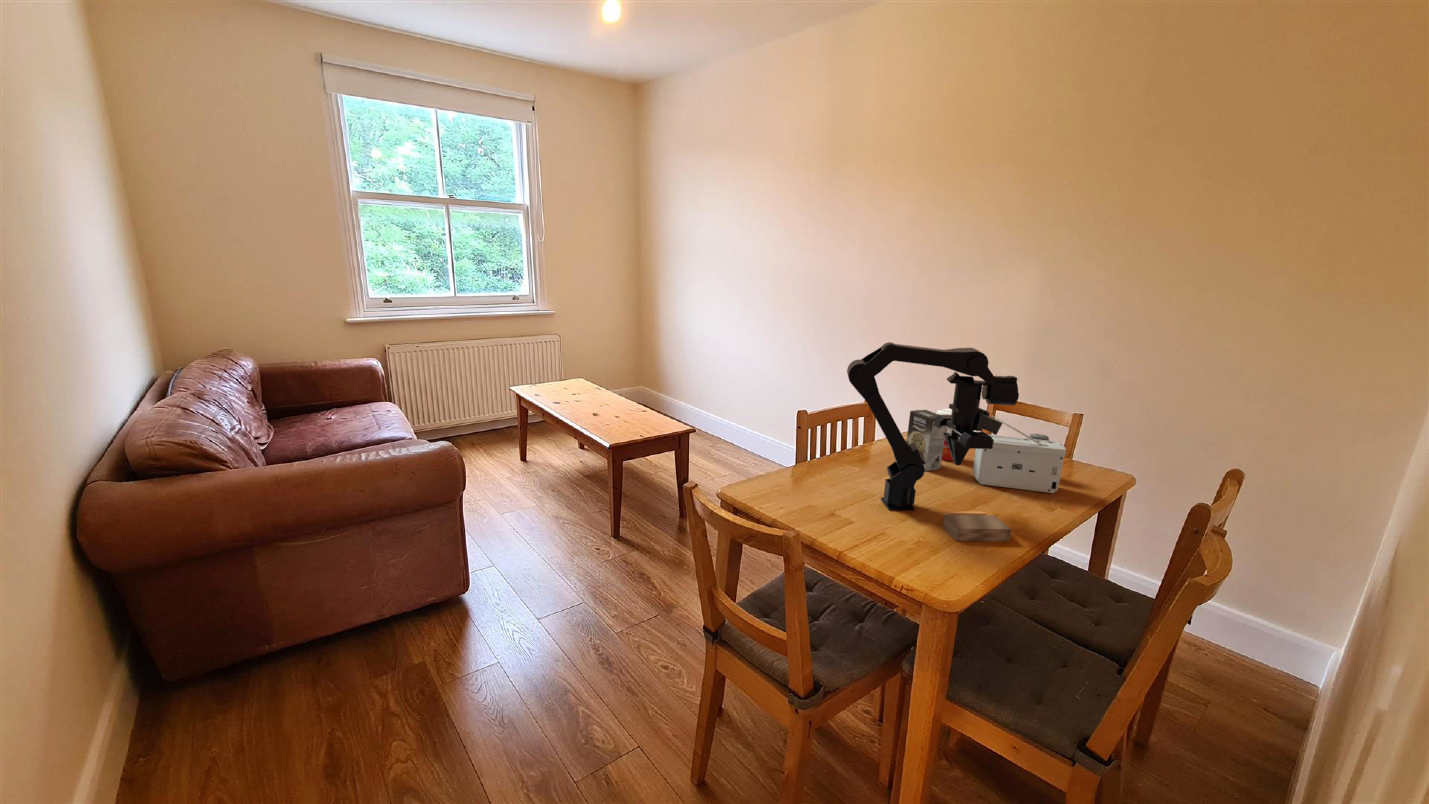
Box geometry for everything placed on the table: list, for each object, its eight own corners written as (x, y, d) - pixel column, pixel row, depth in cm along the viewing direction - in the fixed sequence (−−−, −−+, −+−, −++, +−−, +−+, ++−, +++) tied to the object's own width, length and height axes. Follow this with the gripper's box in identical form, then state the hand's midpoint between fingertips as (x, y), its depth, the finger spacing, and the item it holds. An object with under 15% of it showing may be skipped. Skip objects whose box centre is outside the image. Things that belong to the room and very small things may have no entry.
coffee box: (902, 461, 174) (909, 410, 170) (918, 459, 177) (925, 408, 173) (925, 471, 166) (932, 418, 162) (941, 468, 169) (948, 416, 165)
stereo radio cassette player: (1051, 485, 159) (1064, 416, 154) (1060, 496, 152) (1074, 424, 147) (971, 475, 165) (981, 408, 160) (975, 486, 157) (986, 416, 152)
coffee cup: (925, 457, 179) (931, 410, 175) (937, 451, 185) (943, 406, 181) (951, 464, 173) (958, 416, 169) (963, 458, 179) (969, 412, 175)
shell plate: (960, 539, 127) (962, 526, 126) (945, 522, 134) (946, 511, 134) (1000, 539, 127) (1002, 527, 126) (982, 523, 135) (984, 511, 134)
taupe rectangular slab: (956, 541, 125) (957, 528, 124) (942, 526, 132) (944, 514, 131) (1009, 541, 126) (1011, 529, 125) (993, 527, 132) (995, 515, 132)
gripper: (1022, 413, 125) (1010, 480, 129) (980, 393, 143) (971, 452, 147) (972, 412, 125) (962, 479, 129) (936, 392, 143) (929, 452, 147)
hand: (957, 464), depth 138 cm, fingers closed
